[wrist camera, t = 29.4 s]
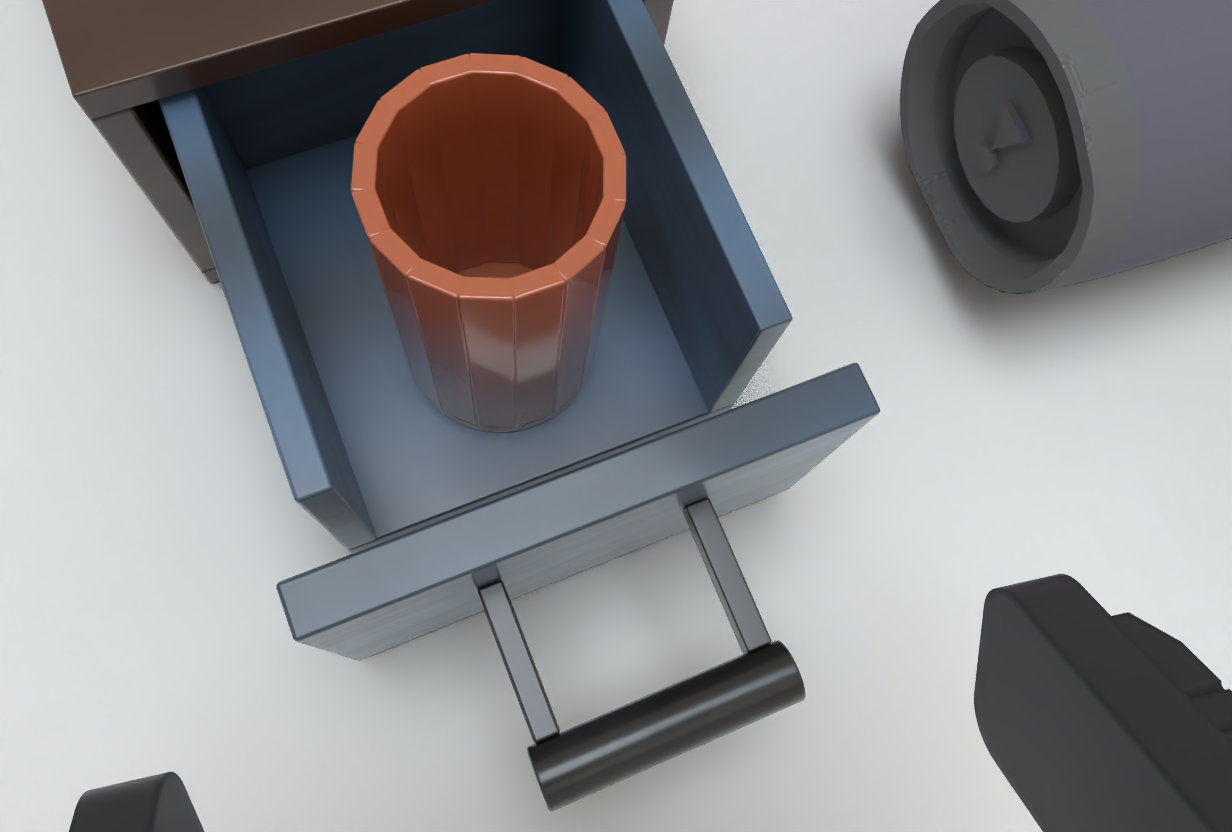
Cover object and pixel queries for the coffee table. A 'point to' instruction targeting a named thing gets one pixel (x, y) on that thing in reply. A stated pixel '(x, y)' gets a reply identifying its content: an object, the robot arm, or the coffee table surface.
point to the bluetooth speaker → (1071, 133)
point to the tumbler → (492, 232)
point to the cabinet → (206, 68)
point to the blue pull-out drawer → (537, 456)
